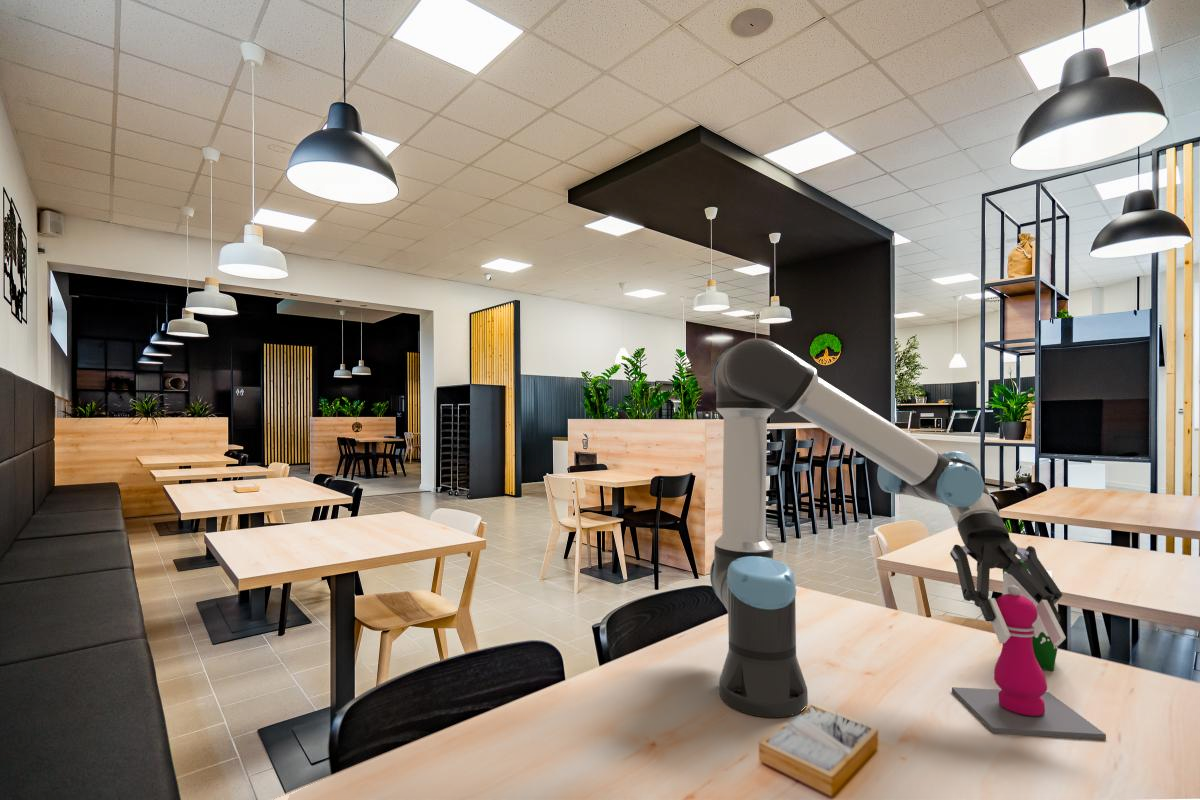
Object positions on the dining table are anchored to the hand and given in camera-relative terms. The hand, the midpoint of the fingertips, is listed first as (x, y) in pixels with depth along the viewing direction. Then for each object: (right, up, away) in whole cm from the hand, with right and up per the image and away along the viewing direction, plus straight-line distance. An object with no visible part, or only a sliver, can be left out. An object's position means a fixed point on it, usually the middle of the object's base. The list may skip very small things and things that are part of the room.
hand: (1032, 640), depth 94 cm
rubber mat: (+1, -13, +3) cm, 14 cm away
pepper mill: (+1, -13, +3) cm, 13 cm away
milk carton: (+18, -14, +24) cm, 33 cm away
